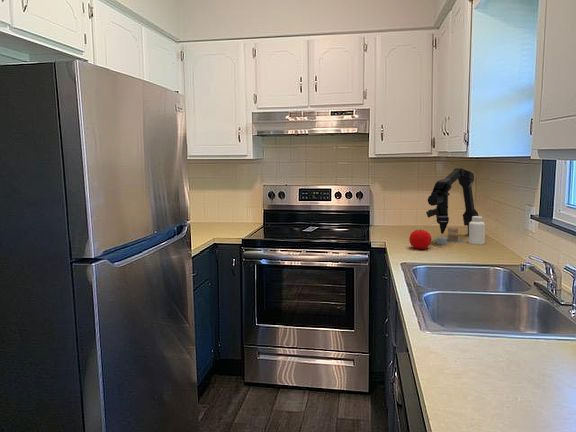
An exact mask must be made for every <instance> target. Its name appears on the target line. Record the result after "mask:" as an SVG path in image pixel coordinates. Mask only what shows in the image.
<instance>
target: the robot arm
mask: <svg viewBox="0 0 576 432" xmlns="http://www.w3.org/2000/svg"><path fill="white" fill-rule="evenodd" d="M474 179H475V175H474V172H472V171H469V170H466V169H464V168H459V167H457V168H456V167H455V168H454V169H453V170H452V171H451V172H450V173H449V174H447V176H446V177H445V178H442V179H439V180H437V181H436V182H435V184H434V186H433V189H432V191H431V192H430V195H429V196H428V198H427V203H428V205H429V206H435V208H433V209H428V210H427V211H426V212H425V213H426V217H427V218H428V219H429V218H431V217H434V216H435V218H436V223H437V224H438V225H439V230H440V233H441V234H442V235H443V234H444V233H445V231H446V228H448V227H447V226H448V224H449V222H450V217H449V196H450V195H451V194H450V190H451V189H452V188H453V187H452V185H453V184H454V183H455V182H456V181H458V183H459V185H460V186H461V187H462V193H463V203H464V208H465V209H464V212H463V213H462V221H463V225H464V226H467V232H466V236H467V237H469V223H470V222H471V221H472V216H479V212H478V211H477V210H476V208H475V203H474V196H473V187H472V186H473V183H474V181H475V180H474Z"/></svg>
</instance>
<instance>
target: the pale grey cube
mask: <svg viewBox="0 0 576 432" xmlns="http://www.w3.org/2000/svg"><path fill="white" fill-rule="evenodd" d="M447 239H448V236H447V237H445V236H444V237H443V236H438V237H437V236H436V244H437V245H438V244H443V245H446V244H447V243H448V242H447Z"/></svg>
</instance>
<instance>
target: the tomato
mask: <svg viewBox="0 0 576 432" xmlns="http://www.w3.org/2000/svg"><path fill="white" fill-rule="evenodd" d="M408 239H409V240H408V241H409V244H410V245H411V247H412V248H414V249H418V250H426V249H428V248H429V246H430V245H431V243H432V235H431V233H429V232H428V231H427V230H425V229H414V230H413V231H412V232H411V233H410V235H409V238H408Z"/></svg>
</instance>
